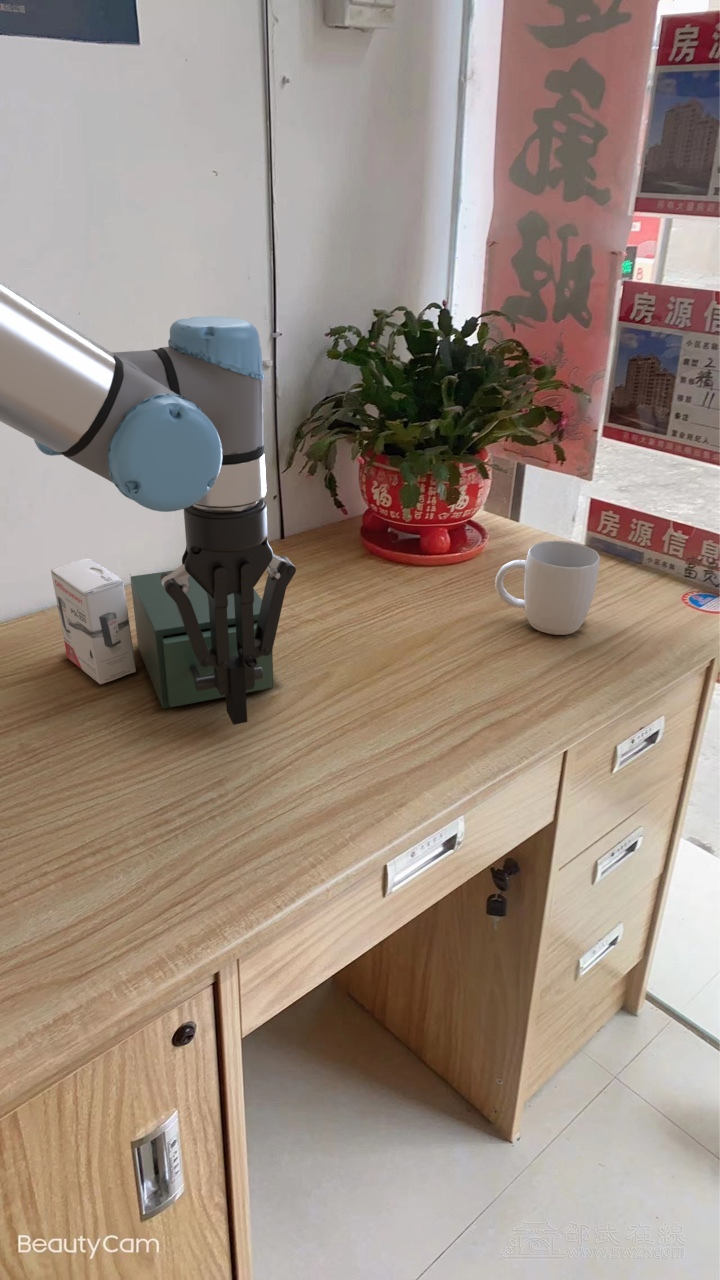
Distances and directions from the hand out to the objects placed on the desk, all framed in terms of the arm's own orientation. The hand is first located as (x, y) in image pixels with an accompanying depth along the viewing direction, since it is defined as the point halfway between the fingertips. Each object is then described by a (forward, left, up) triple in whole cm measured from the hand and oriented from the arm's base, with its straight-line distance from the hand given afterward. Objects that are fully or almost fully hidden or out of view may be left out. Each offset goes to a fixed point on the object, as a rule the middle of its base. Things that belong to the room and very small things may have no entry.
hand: (236, 716), depth 91 cm
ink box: (-11, +19, -2) cm, 22 cm away
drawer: (0, +10, -1) cm, 10 cm away
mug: (+44, +11, -2) cm, 45 cm away
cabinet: (0, +15, -2) cm, 15 cm away
